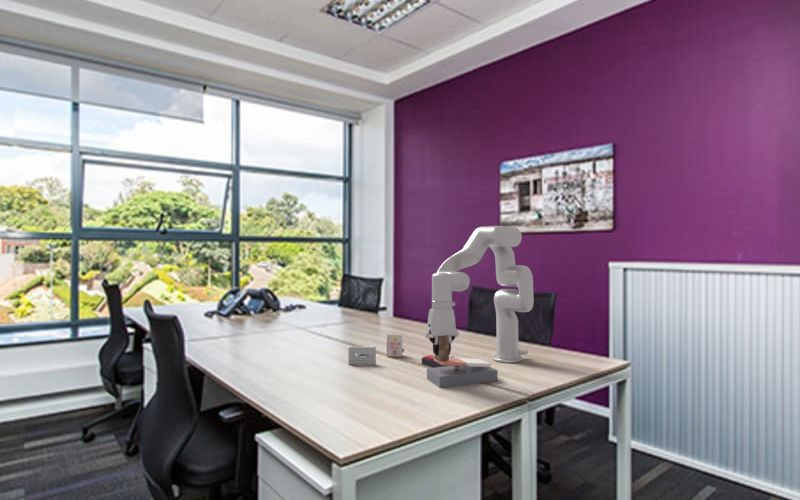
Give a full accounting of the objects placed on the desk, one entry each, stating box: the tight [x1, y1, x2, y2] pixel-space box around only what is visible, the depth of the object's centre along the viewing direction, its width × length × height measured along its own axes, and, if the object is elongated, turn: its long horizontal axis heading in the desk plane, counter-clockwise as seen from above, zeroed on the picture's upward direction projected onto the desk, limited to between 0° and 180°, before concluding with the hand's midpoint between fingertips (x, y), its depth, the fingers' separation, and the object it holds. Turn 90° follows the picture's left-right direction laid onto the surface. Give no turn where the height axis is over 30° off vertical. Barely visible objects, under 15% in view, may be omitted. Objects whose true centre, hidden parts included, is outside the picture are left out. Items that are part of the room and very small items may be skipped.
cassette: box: [347, 346, 377, 366], centre depth 197 cm, size 12×2×8 cm, turn 87°
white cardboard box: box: [386, 334, 403, 358], centre depth 211 cm, size 4×7×10 cm, turn 83°
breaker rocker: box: [434, 357, 491, 367], centre depth 173 cm, size 20×8×2 cm, turn 109°
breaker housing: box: [426, 366, 499, 389], centre depth 173 cm, size 24×12×6 cm, turn 109°
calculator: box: [421, 353, 461, 368], centre depth 194 cm, size 11×4×15 cm
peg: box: [435, 336, 450, 361], centre depth 170 cm, size 4×4×9 cm
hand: (441, 353), depth 170 cm, fingers closed on peg, 3 cm apart
